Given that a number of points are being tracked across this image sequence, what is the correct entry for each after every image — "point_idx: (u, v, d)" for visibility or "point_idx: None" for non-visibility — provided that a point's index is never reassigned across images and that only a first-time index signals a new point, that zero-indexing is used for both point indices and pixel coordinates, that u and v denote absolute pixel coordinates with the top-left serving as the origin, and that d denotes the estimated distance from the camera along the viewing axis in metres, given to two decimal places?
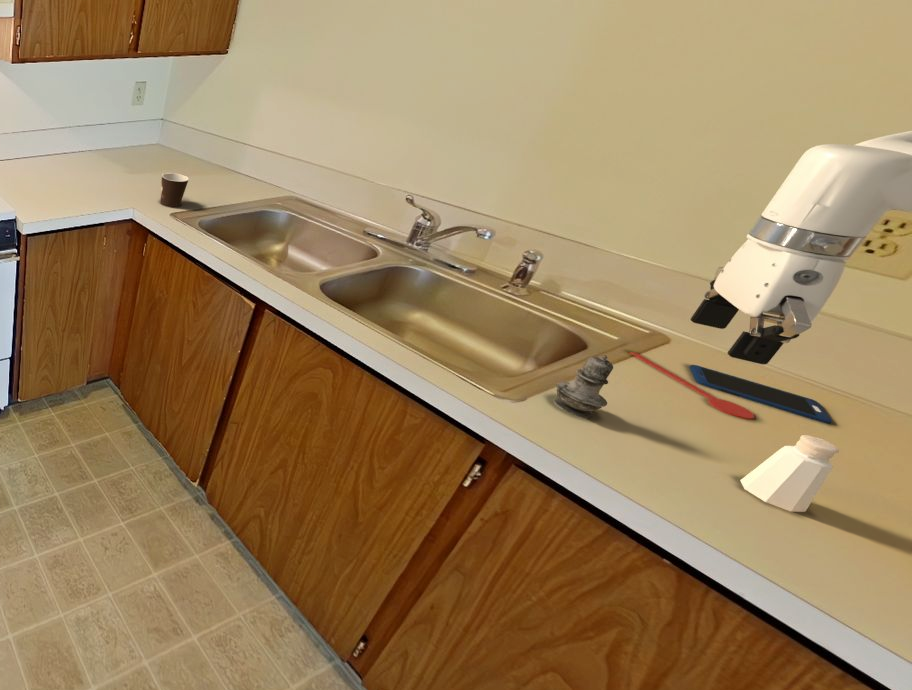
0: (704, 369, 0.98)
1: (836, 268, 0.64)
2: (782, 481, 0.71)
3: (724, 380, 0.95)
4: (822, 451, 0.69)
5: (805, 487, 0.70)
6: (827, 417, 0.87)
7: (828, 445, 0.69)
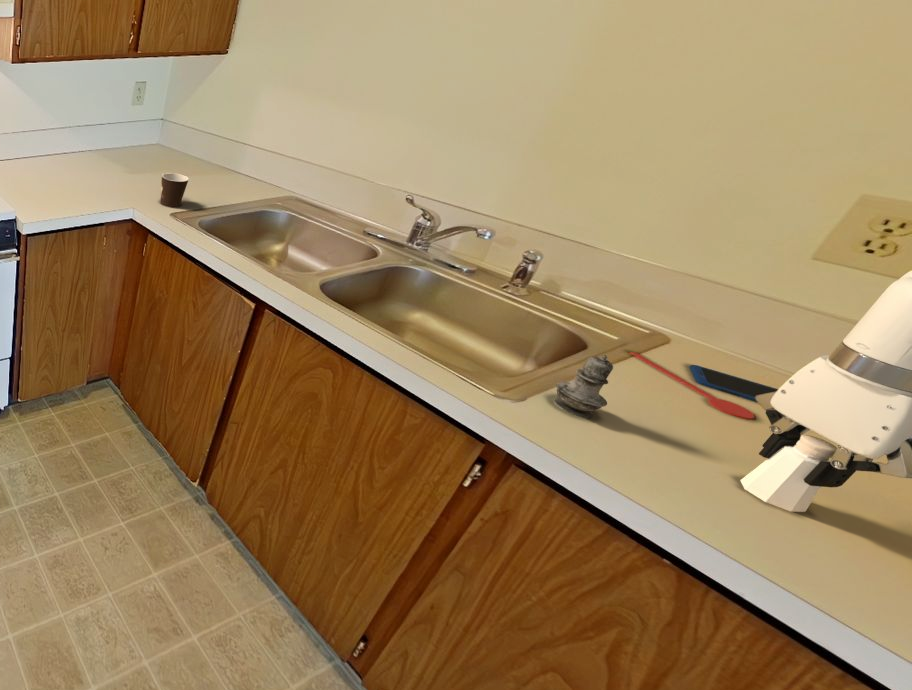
0: (704, 369, 0.98)
1: None
2: (782, 481, 0.71)
3: (724, 380, 0.95)
4: (822, 451, 0.69)
5: (805, 487, 0.70)
6: None
7: (828, 445, 0.69)
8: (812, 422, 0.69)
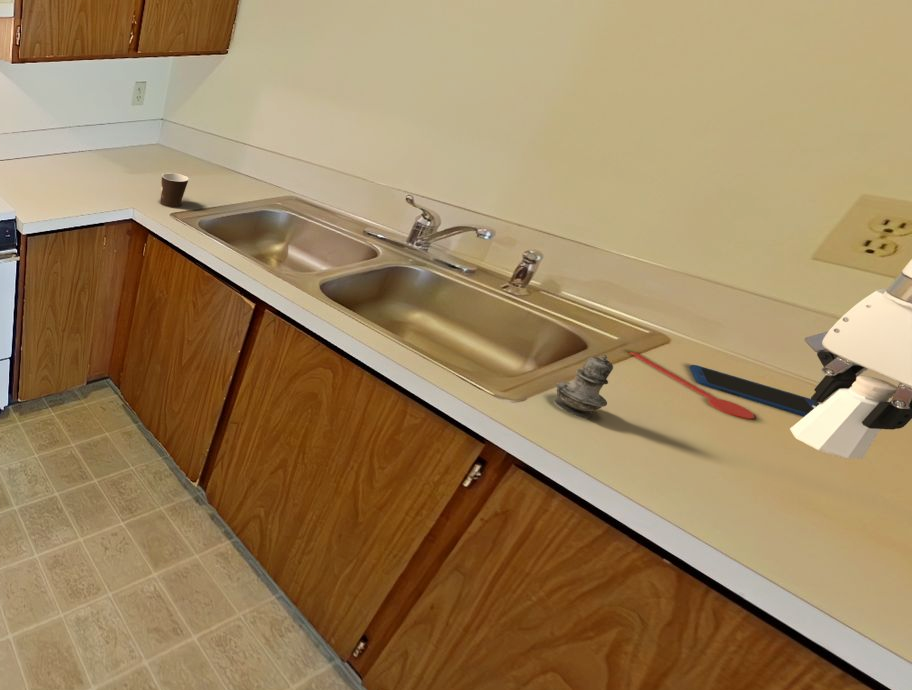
0: (704, 369, 0.98)
1: None
2: (838, 425, 0.67)
3: (724, 380, 0.95)
4: (881, 391, 0.65)
5: (863, 430, 0.66)
6: None
7: (887, 385, 0.65)
8: (870, 360, 0.65)
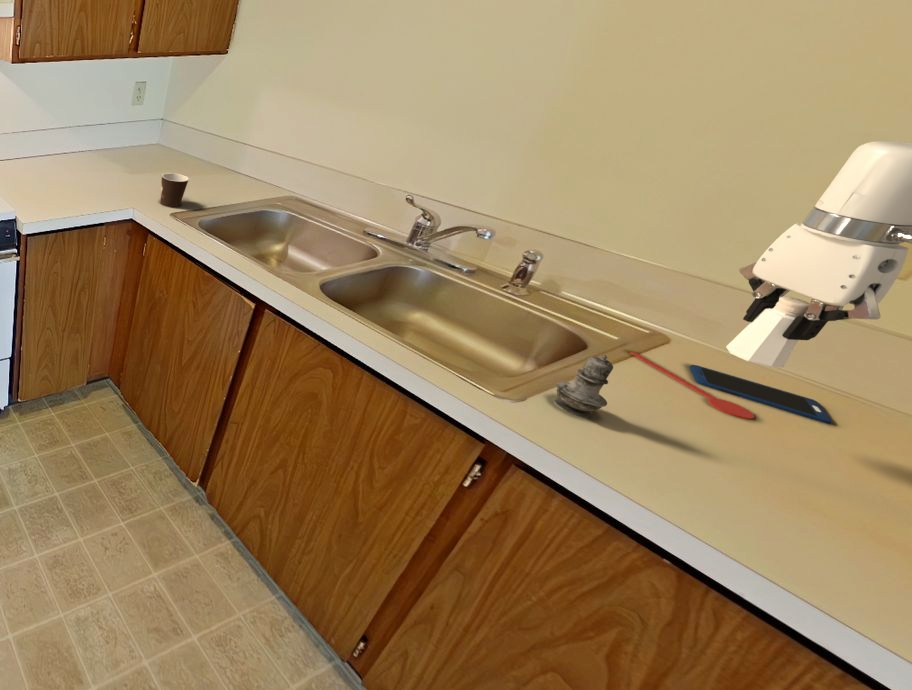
0: (704, 369, 0.98)
1: (905, 254, 0.70)
2: (764, 339, 0.80)
3: (724, 380, 0.95)
4: (798, 307, 0.78)
5: (783, 342, 0.79)
6: (827, 417, 0.87)
7: (803, 302, 0.78)
8: (789, 282, 0.78)
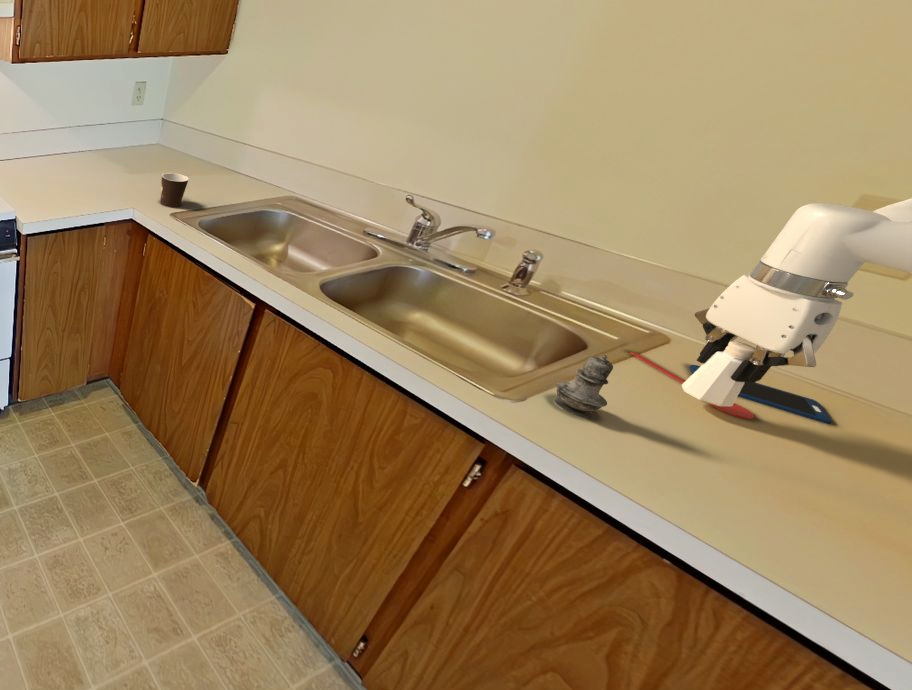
0: None
1: (839, 308, 0.76)
2: (714, 380, 0.86)
3: None
4: (745, 352, 0.84)
5: (732, 383, 0.85)
6: (827, 417, 0.87)
7: (750, 347, 0.84)
8: (737, 328, 0.84)
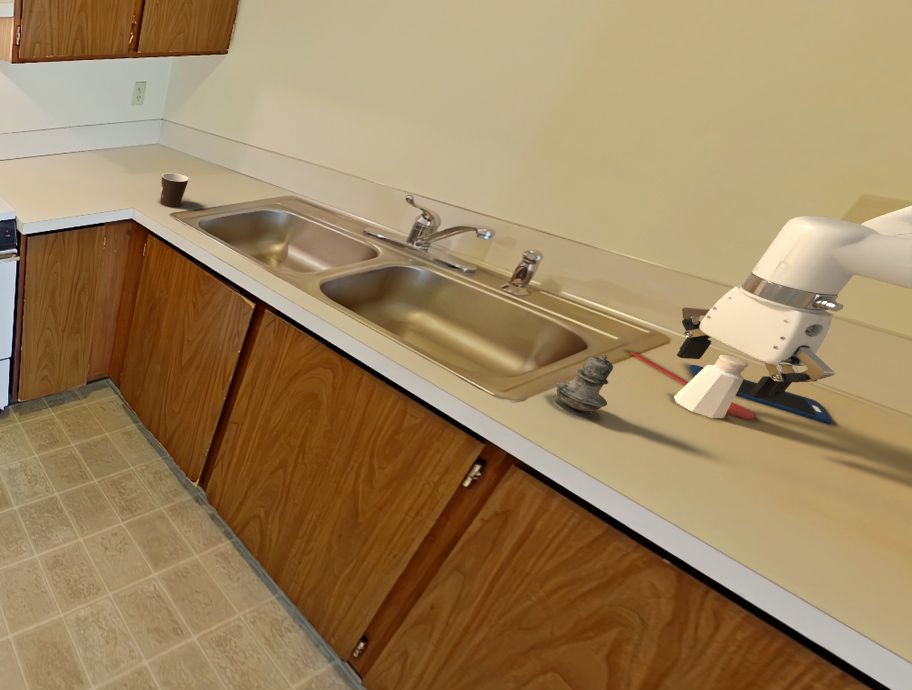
0: None
1: (830, 320, 0.77)
2: (705, 393, 0.87)
3: None
4: (735, 366, 0.85)
5: (722, 397, 0.86)
6: (827, 417, 0.87)
7: (740, 361, 0.85)
8: (730, 339, 0.85)
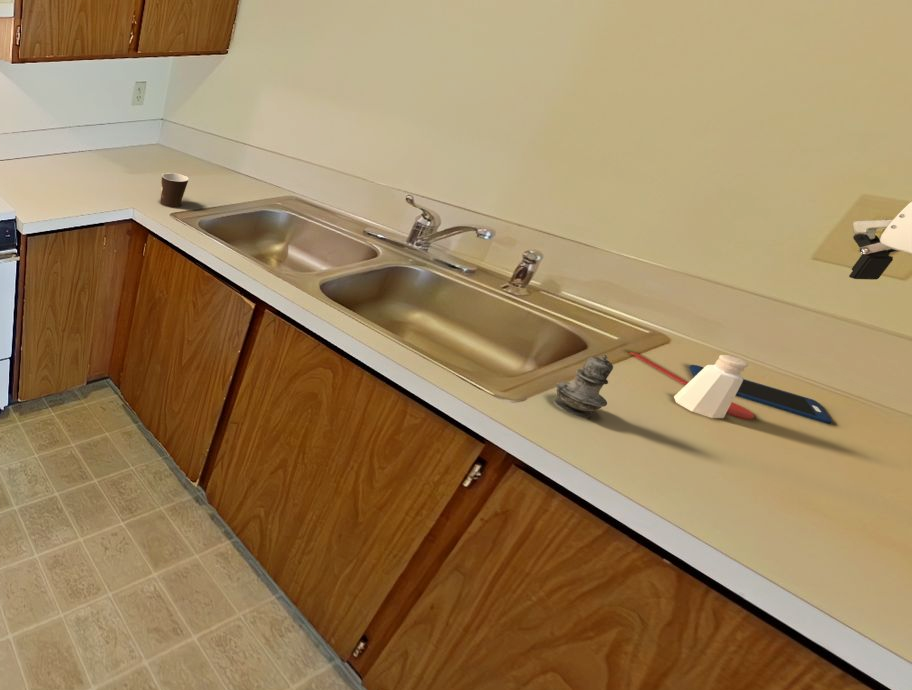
0: None
1: None
2: (705, 393, 0.87)
3: None
4: (735, 366, 0.85)
5: (722, 397, 0.86)
6: (827, 417, 0.87)
7: (740, 361, 0.85)
8: None
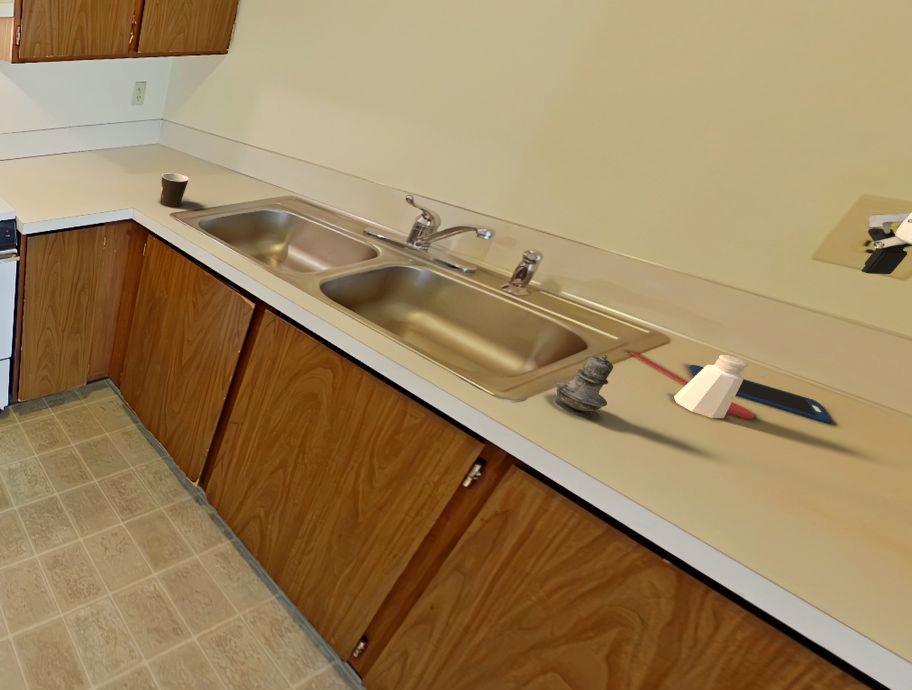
0: None
1: None
2: (705, 393, 0.87)
3: None
4: (735, 366, 0.85)
5: (722, 397, 0.86)
6: (827, 417, 0.87)
7: (740, 361, 0.85)
8: None
